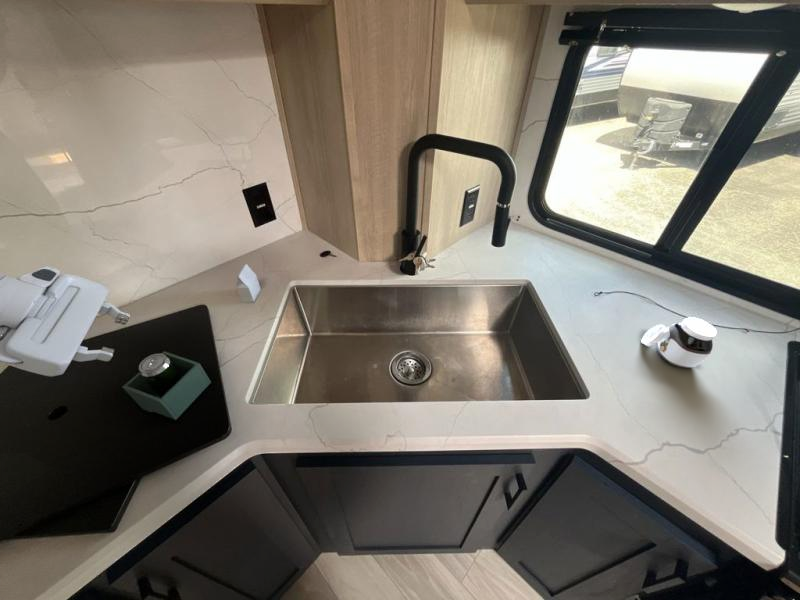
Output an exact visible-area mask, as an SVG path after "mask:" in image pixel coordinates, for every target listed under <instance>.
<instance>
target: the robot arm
mask: <svg viewBox="0 0 800 600" xmlns="http://www.w3.org/2000/svg"><path fill="white" fill-rule="evenodd" d="M60 273H61V272H60V270H59V269H57V268H55V267H52V266H47V265H46V266H42V267H40V268H37V269H35V270H33V271H31V272H28V273H25V274H22V275H19V276H17V277H14V276H11V275H7V274H3V273H0V364H1V365H7V366H11V367H14V368H16V369H19V370H23V371H26V372H29V373H33V374H37V375H40V376H41V375H42V376H46V377H56V376H61V375H64V373H65V372H66V370H67V369H68V367H69V366H70V364H71V362H72V361H74V362H87V361H95V360H98V361H103V362H110V361H111V360H112V358H113V357H114V354H115V351H116V350H115V349H114V348H109V347H106V346H102V348H101V349H92V350H91V349H90V350H88V349H89V348H88V347H86V346H83V345H81V344H82V342H83V340H84V339H85V336H86V335H87V333H88V332H89V330H90V328H91V327H92V324H93V323H94V321H95V319H96V317H97V316H98V315H102V316H105V315H107V316H109V317H111V318H112V319H114V321H113V323H115V324H120V325H123V326H124V325H126V324H127V323H128V322H129V319H130V318H131V314H129V313H127V312H123V311H121V310H120V309H119V308H118V307H116V306H115V305H114V304H112V303H111V302H108V301H106V299H107V298H108V296H109V294H110V289H108V288H107V287H106V285H103V284H101V283H99V282H97V281H94V280H91V279H89V278H85V277H82V276H79V275H74V274H70V273H62V274H60Z"/></svg>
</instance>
